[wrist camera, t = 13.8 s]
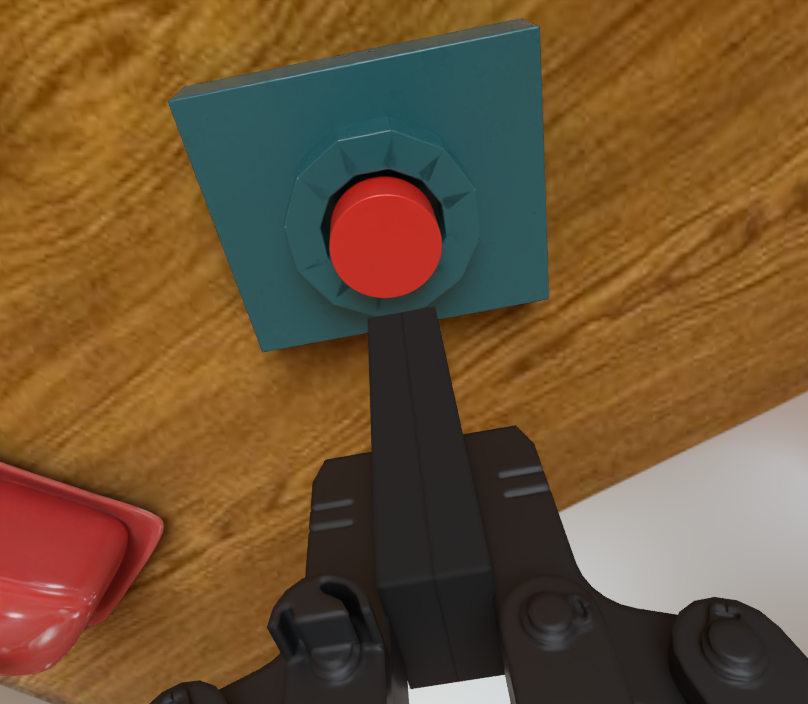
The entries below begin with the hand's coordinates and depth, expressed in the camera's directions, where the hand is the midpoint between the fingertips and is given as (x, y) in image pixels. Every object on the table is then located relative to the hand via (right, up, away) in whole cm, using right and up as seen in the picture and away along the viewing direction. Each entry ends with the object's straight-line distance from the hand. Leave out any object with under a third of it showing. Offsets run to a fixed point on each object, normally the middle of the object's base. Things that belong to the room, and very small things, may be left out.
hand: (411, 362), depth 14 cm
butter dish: (-20, -9, +19) cm, 29 cm away
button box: (-1, +7, +10) cm, 12 cm away
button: (-1, +5, +7) cm, 8 cm away
